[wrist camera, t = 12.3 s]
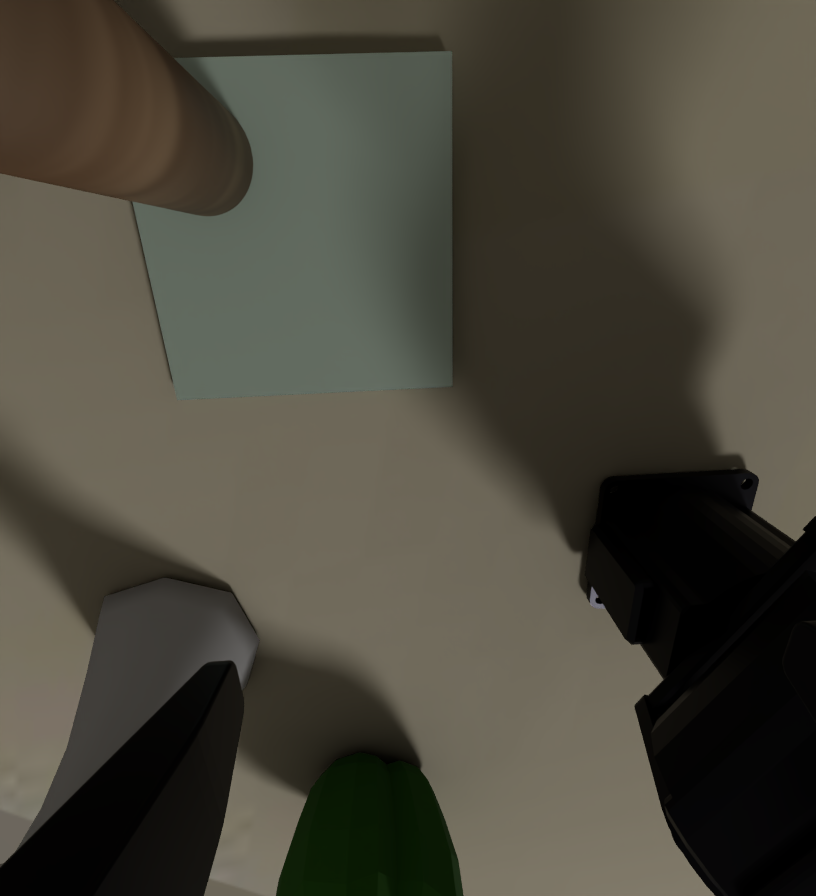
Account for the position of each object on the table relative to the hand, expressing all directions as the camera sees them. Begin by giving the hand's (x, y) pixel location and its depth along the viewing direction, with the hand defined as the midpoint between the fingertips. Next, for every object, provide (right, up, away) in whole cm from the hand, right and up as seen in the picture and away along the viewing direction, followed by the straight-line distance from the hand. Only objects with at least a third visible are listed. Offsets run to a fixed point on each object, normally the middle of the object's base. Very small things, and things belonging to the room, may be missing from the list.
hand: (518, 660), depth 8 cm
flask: (-12, -5, +15) cm, 20 cm away
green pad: (-5, +10, +9) cm, 14 cm away
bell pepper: (-4, -15, +19) cm, 25 cm away
